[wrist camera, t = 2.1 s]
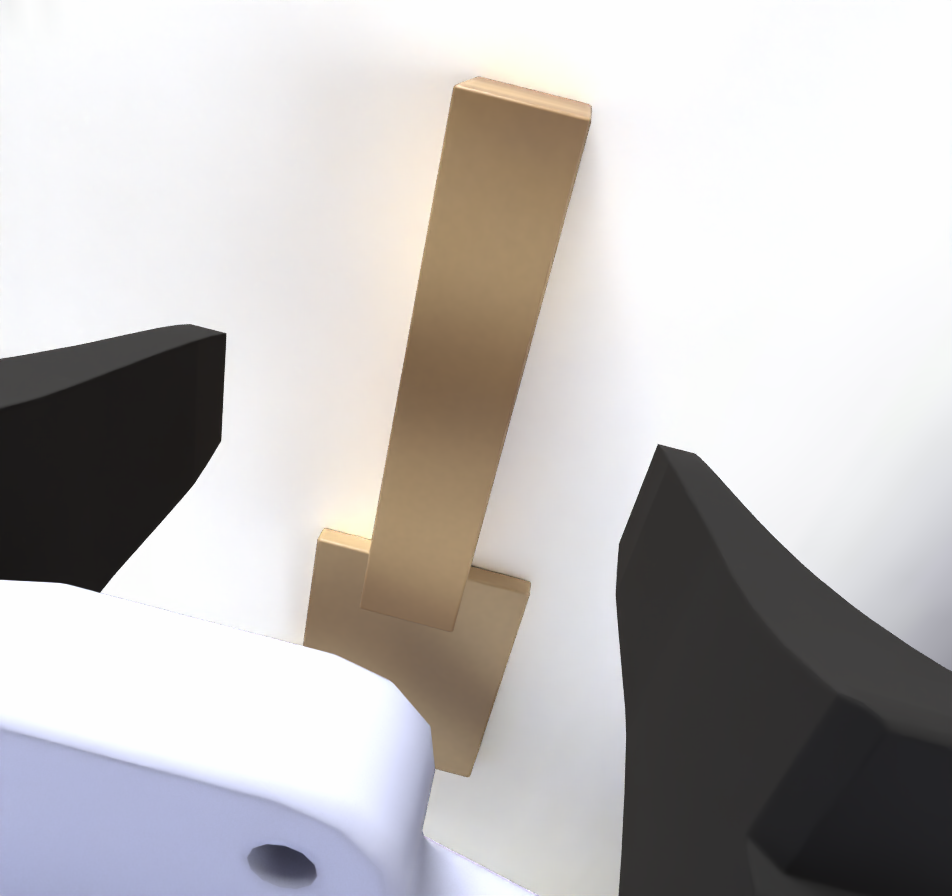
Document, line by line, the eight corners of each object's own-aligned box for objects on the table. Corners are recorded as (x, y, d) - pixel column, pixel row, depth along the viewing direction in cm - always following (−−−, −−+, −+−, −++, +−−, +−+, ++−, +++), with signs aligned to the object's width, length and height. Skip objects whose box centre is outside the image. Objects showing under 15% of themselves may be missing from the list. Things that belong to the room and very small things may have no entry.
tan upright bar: (472, 763, 25) (458, 842, 23) (297, 716, 25) (265, 790, 23) (680, 126, 15) (696, 145, 13) (389, 53, 15) (350, 57, 13)
